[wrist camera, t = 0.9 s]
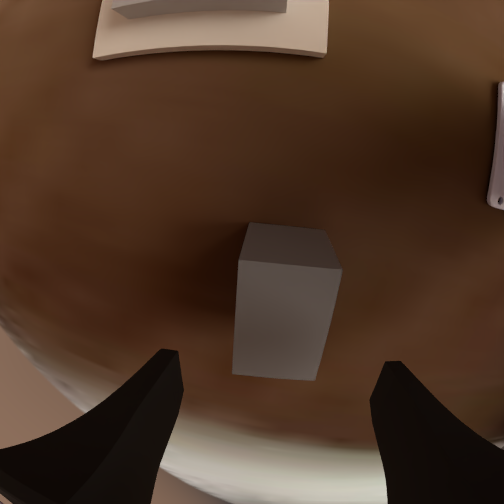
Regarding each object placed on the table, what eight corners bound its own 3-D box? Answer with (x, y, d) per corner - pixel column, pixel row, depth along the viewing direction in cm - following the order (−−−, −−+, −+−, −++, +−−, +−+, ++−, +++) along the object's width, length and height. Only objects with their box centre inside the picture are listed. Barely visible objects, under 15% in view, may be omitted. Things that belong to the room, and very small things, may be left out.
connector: (324, 229, 16) (342, 269, 12) (307, 322, 18) (314, 380, 14) (249, 221, 16) (238, 259, 12) (242, 316, 19) (231, 373, 14)
